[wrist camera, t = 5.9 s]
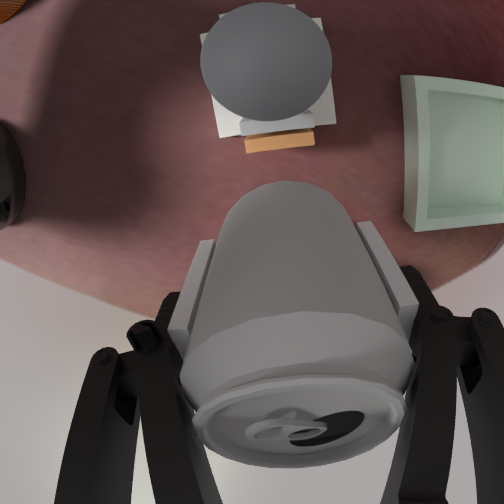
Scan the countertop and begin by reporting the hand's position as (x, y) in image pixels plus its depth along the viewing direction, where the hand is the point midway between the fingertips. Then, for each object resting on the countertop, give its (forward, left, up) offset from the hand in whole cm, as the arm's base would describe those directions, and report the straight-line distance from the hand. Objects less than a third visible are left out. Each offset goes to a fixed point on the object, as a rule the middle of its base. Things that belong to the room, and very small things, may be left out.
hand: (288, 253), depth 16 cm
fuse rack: (0, 0, -13) cm, 13 cm away
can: (0, 0, -2) cm, 2 cm away
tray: (+19, +2, -13) cm, 24 cm away
